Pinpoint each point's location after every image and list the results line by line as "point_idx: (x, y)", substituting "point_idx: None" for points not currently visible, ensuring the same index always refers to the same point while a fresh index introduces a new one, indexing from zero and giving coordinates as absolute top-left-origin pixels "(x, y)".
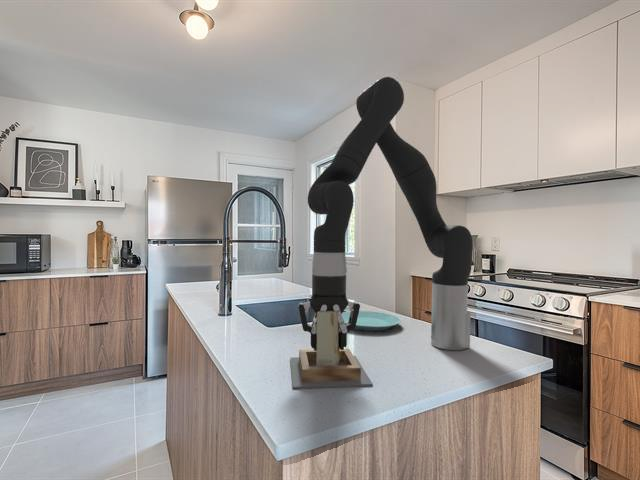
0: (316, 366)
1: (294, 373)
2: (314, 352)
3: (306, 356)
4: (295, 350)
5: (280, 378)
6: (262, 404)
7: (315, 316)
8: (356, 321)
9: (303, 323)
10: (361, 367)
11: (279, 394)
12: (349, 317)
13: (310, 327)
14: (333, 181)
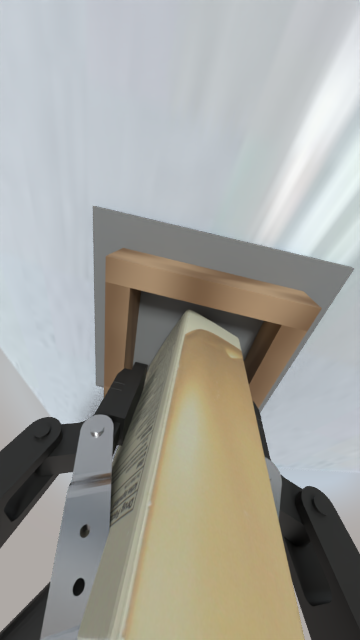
0: (149, 367)
1: (101, 335)
2: (164, 294)
3: (124, 329)
4: (126, 63)
5: (72, 335)
6: (52, 402)
7: (69, 525)
8: (323, 584)
9: (17, 493)
10: (289, 361)
11: (75, 388)
12: (334, 579)
13: (72, 467)
14: None
